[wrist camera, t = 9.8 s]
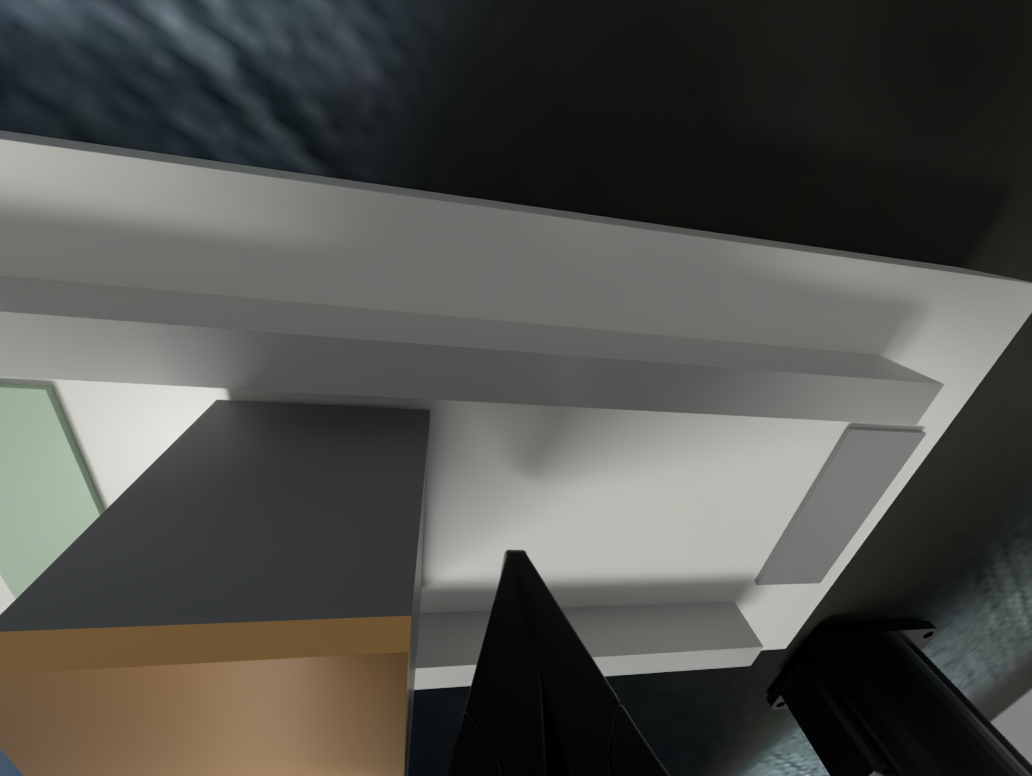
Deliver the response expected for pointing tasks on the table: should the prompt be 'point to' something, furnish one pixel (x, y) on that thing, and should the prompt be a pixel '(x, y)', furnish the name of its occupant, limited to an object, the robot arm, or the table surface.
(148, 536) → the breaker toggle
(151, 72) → the table surface
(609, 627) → the white rail tray
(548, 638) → the robot arm
